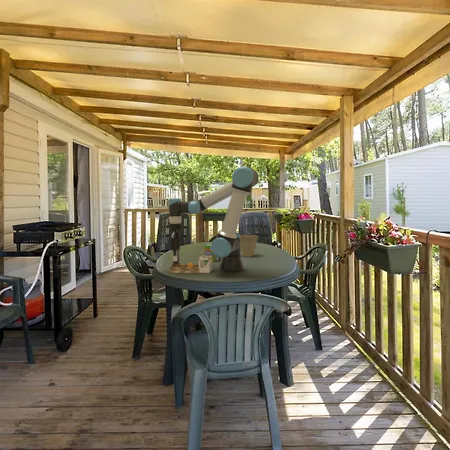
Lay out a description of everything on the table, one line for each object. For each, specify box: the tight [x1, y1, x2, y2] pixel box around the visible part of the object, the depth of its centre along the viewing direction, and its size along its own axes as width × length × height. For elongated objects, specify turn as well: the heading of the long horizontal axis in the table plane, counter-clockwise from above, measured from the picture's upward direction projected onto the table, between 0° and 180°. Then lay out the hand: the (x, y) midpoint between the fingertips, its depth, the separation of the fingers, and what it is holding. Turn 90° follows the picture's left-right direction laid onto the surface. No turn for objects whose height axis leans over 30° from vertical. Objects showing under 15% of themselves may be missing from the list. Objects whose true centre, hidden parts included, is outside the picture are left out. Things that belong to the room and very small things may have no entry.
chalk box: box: [204, 240, 221, 263], centre depth 259 cm, size 9×9×15 cm
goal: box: [198, 255, 213, 274], centre depth 220 cm, size 6×10×9 cm, turn 172°
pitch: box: [168, 263, 203, 274], centre depth 222 cm, size 19×12×3 cm, turn 82°
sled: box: [171, 248, 182, 267], centre depth 223 cm, size 4×6×12 cm, turn 172°
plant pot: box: [240, 234, 258, 258], centre depth 276 cm, size 15×15×16 cm
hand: (176, 260), depth 223 cm, fingers closed on sled, 3 cm apart
